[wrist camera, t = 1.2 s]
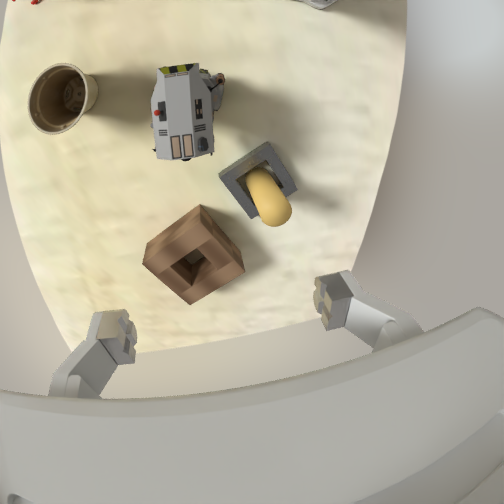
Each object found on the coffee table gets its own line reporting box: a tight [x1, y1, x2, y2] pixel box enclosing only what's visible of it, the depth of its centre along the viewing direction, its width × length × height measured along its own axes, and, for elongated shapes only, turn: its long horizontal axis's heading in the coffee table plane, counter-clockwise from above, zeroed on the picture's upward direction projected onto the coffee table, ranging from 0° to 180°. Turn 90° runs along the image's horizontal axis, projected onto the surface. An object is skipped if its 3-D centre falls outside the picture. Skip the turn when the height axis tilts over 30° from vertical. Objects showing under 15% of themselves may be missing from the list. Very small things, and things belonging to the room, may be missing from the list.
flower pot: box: [28, 63, 98, 135], centre depth 26 cm, size 9×9×9 cm
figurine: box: [150, 63, 225, 161], centre depth 29 cm, size 9×12×15 cm
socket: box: [142, 205, 245, 305], centre depth 46 cm, size 12×12×6 cm
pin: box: [245, 167, 292, 227], centre depth 39 cm, size 4×4×12 cm
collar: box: [218, 142, 298, 219], centre depth 43 cm, size 9×9×2 cm
